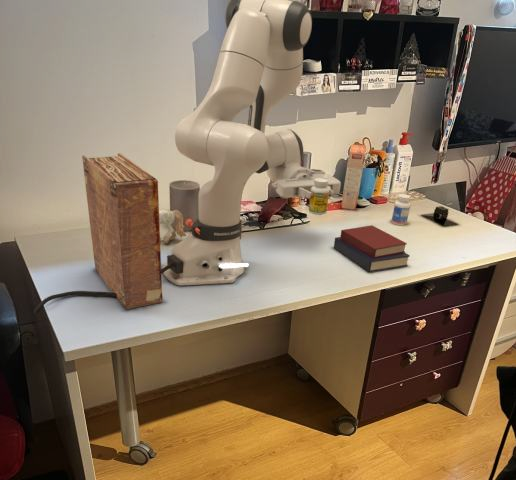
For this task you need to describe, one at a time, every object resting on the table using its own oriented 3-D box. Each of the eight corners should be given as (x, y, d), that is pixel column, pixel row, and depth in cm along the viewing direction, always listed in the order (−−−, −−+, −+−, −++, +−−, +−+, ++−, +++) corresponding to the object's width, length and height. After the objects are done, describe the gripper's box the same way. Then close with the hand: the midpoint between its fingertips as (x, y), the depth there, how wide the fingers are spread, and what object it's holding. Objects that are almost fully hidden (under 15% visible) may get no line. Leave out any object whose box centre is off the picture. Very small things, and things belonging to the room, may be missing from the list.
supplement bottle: (322, 209, 162) (326, 177, 157) (329, 215, 158) (333, 182, 152) (305, 209, 160) (309, 177, 155) (311, 215, 156) (315, 182, 151)
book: (95, 269, 144) (81, 154, 128) (128, 263, 149) (119, 152, 132) (126, 310, 126) (115, 183, 110) (163, 302, 131) (157, 179, 114)
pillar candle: (173, 220, 180) (171, 175, 172) (201, 222, 180) (201, 177, 172) (167, 230, 172) (166, 183, 164) (198, 232, 172) (197, 185, 164)
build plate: (458, 225, 193) (461, 212, 190) (443, 227, 190) (446, 214, 187) (435, 213, 202) (438, 201, 200) (420, 215, 199) (422, 203, 197)
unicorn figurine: (118, 241, 162) (114, 198, 154) (179, 234, 169) (178, 192, 162) (124, 250, 156) (120, 205, 149) (187, 242, 164) (186, 199, 157)
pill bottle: (388, 220, 192) (393, 193, 187) (401, 219, 194) (407, 193, 189) (396, 225, 188) (401, 198, 183) (409, 225, 190) (415, 197, 184)
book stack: (368, 272, 153) (372, 251, 149) (333, 248, 167) (336, 228, 164) (407, 266, 158) (412, 245, 155) (370, 243, 172) (373, 223, 169)
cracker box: (356, 210, 200) (365, 153, 189) (340, 209, 201) (348, 151, 189) (358, 200, 211) (366, 145, 200) (342, 198, 212) (350, 143, 201)
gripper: (269, 173, 160) (291, 186, 150) (327, 169, 168) (351, 182, 158) (267, 194, 163) (288, 208, 153) (324, 189, 171) (348, 203, 161)
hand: (321, 194), depth 155 cm, fingers closed on supplement bottle, 5 cm apart
